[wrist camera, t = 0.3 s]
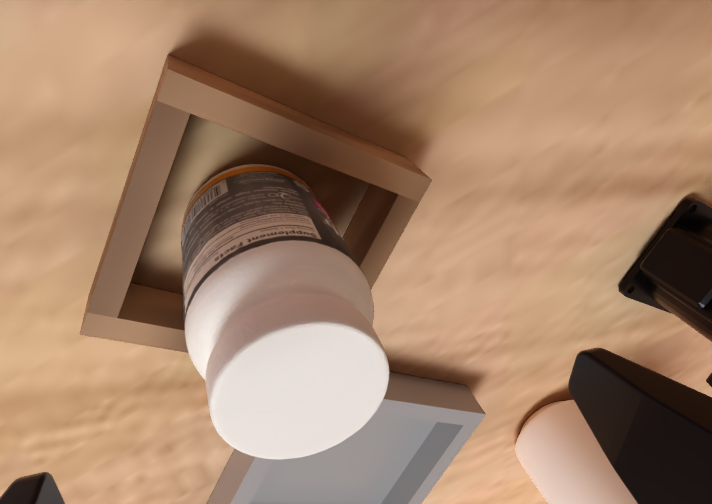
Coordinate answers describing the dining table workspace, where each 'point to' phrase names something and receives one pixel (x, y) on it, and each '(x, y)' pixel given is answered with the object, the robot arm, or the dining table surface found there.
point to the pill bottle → (277, 316)
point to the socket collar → (265, 123)
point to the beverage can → (568, 458)
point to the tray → (367, 453)
